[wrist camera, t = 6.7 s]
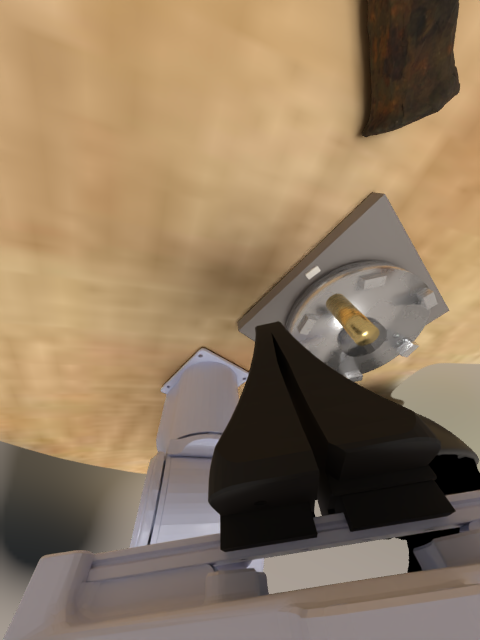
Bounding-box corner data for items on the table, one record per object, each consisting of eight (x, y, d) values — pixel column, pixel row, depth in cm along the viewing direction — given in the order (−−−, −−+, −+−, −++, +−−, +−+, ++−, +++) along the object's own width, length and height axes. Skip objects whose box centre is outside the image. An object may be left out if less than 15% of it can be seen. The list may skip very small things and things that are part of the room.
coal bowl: (353, 447, 44) (424, 590, 29) (278, 432, 38) (320, 609, 22) (440, 395, 35) (614, 567, 20) (361, 362, 28) (534, 588, 13)
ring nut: (427, 321, 22) (492, 368, 17) (321, 379, 26) (347, 430, 21) (390, 226, 16) (476, 252, 11) (260, 322, 20) (274, 374, 15)
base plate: (321, 378, 29) (326, 388, 28) (237, 322, 22) (238, 332, 21) (437, 303, 23) (451, 311, 22) (372, 192, 16) (386, 194, 15)
